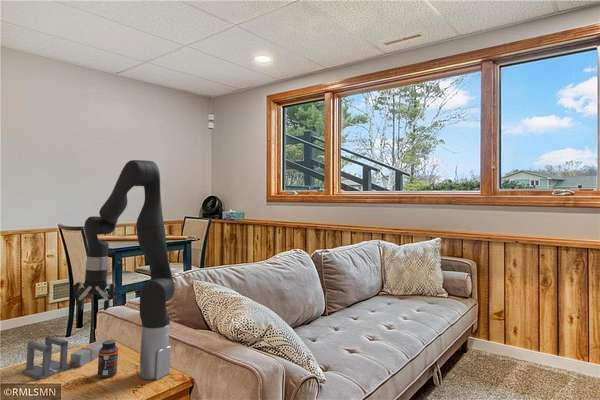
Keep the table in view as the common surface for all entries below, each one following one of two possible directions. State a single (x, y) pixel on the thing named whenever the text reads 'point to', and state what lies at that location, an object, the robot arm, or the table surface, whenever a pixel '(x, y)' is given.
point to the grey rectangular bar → (87, 353)
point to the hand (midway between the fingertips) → (93, 309)
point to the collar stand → (46, 358)
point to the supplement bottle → (107, 359)
